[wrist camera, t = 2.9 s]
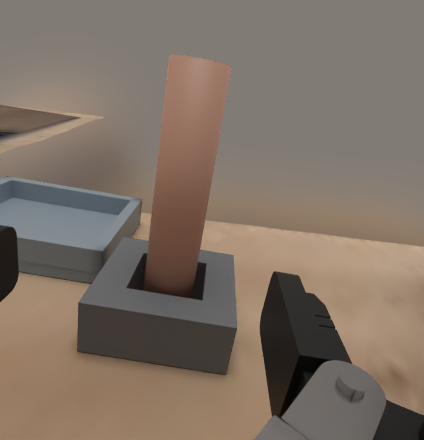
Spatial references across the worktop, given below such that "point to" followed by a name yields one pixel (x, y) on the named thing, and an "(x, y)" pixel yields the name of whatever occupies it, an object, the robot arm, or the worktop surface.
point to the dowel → (184, 171)
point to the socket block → (160, 313)
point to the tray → (65, 226)
